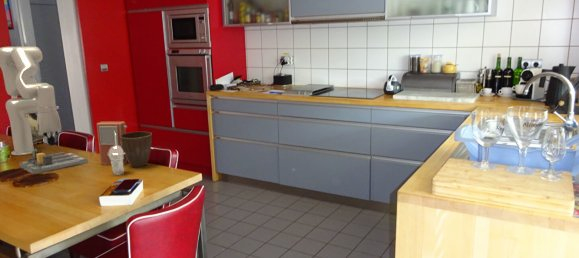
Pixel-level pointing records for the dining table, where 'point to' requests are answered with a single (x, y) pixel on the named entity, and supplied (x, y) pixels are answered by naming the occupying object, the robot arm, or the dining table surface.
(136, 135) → the plant pot
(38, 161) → the block
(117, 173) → the cup with straw
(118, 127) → the control panel
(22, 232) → the dining table surface
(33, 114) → the ceramic jug
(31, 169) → the breaker board
